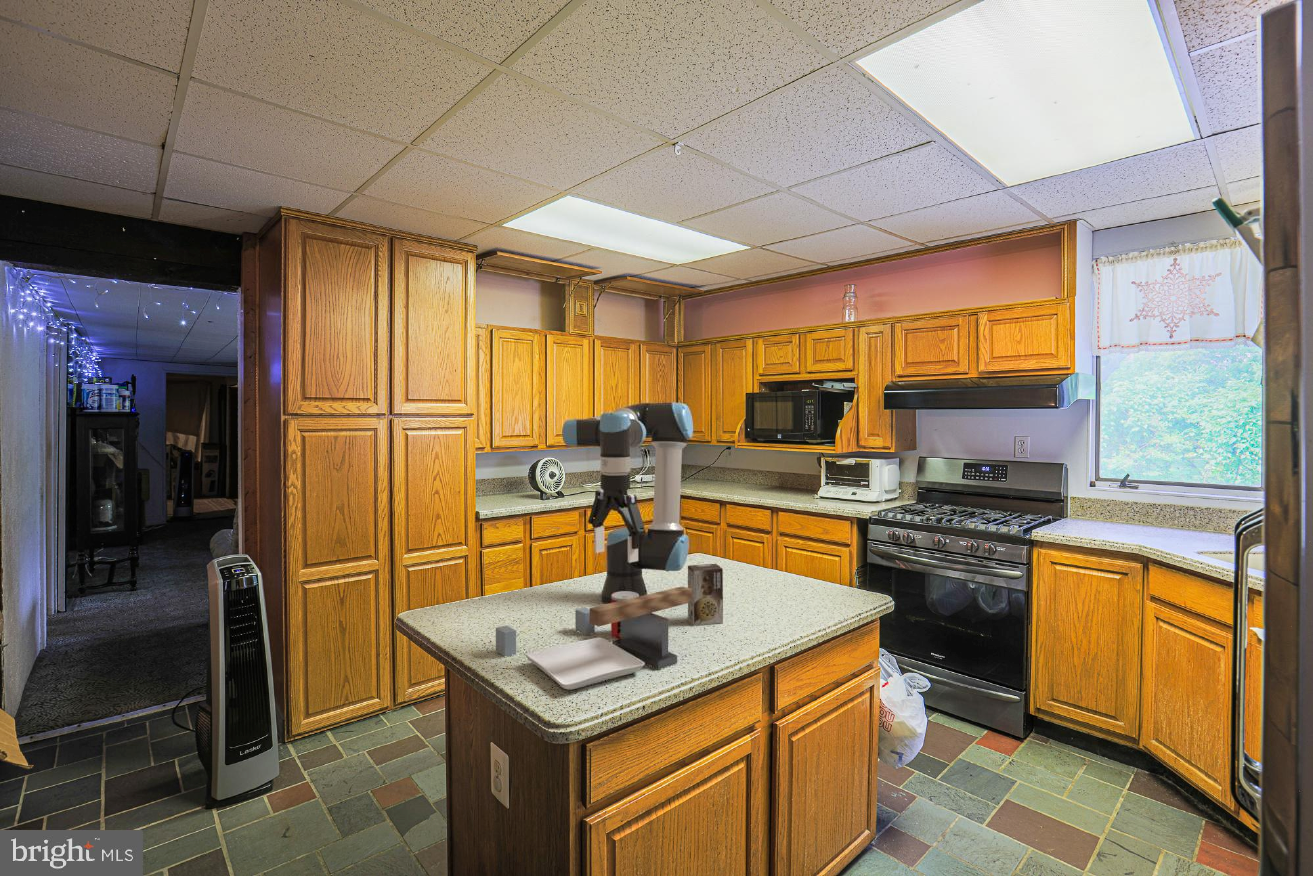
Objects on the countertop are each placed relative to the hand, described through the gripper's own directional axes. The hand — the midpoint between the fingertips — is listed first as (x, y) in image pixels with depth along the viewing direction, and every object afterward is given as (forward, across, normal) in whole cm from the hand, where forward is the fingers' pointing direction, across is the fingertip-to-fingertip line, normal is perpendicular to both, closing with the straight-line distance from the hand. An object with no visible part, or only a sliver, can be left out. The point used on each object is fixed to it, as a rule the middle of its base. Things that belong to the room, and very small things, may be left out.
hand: (615, 556), depth 158 cm
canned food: (+24, -7, +8) cm, 27 cm away
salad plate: (+24, +6, -14) cm, 28 cm away
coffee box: (+25, 0, +33) cm, 41 cm away
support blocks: (+24, -16, -10) cm, 31 cm away
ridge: (+24, +8, +2) cm, 25 cm away
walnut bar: (+13, +8, +2) cm, 15 cm away
